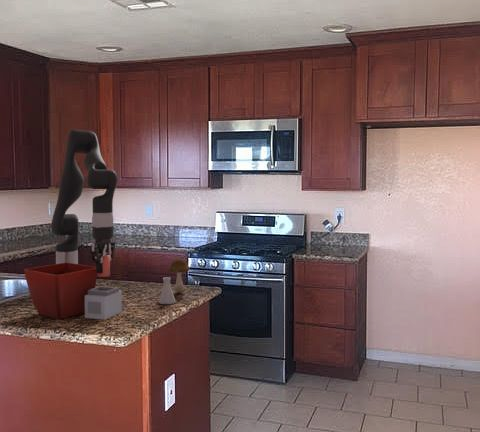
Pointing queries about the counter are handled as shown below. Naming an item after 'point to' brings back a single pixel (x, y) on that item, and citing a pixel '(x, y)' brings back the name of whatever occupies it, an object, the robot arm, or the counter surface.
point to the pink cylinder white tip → (105, 266)
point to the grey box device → (103, 302)
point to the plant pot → (60, 288)
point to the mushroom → (179, 273)
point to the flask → (166, 293)
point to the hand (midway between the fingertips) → (103, 271)
